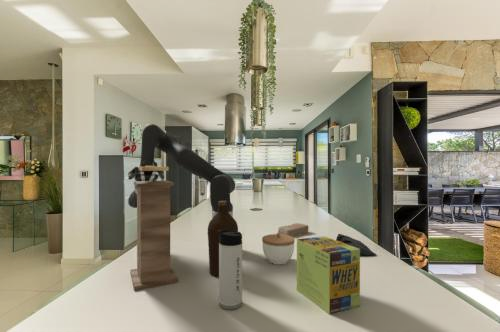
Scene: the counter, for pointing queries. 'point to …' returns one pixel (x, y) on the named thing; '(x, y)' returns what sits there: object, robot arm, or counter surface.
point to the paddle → (153, 168)
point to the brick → (293, 229)
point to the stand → (153, 235)
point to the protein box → (328, 273)
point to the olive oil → (218, 235)
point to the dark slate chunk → (355, 244)
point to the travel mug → (230, 269)
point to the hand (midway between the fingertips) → (149, 163)
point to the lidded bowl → (278, 248)
